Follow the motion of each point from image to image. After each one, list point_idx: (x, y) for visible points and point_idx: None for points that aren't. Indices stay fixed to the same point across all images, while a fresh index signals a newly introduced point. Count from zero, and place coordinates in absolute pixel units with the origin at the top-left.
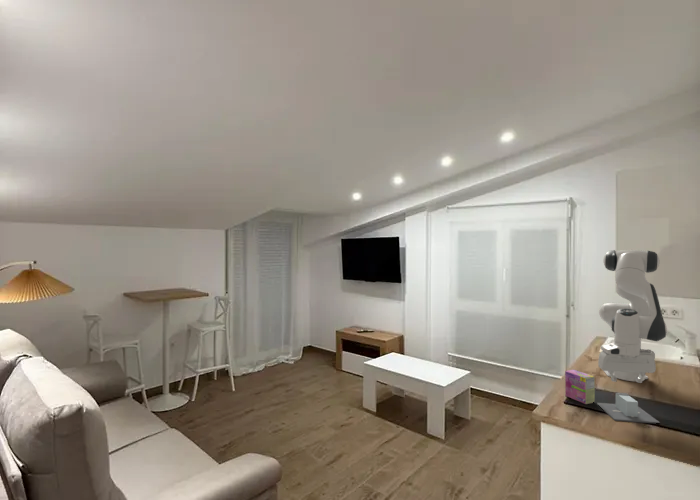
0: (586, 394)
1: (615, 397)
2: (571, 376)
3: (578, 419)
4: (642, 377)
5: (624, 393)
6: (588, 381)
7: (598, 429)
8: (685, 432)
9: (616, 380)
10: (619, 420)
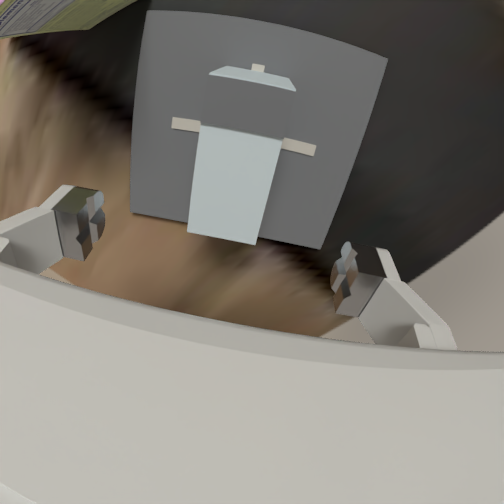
0: (58, 29)
1: (217, 69)
2: None
3: (17, 199)
4: (379, 335)
5: (275, 97)
6: (10, 21)
7: (57, 265)
8: None
9: (96, 237)
10: (150, 213)
